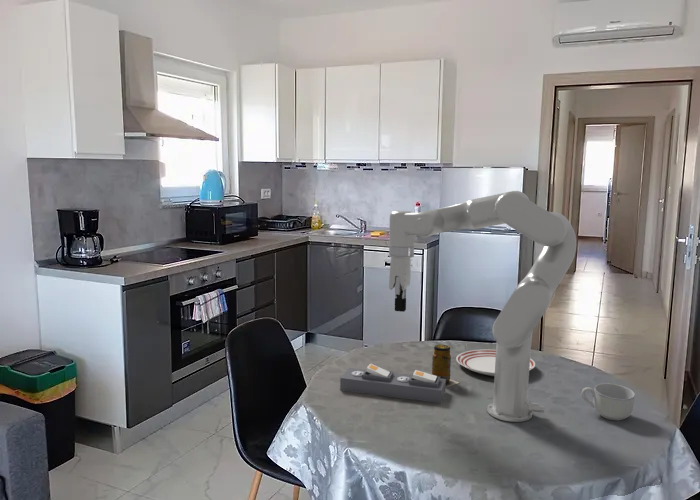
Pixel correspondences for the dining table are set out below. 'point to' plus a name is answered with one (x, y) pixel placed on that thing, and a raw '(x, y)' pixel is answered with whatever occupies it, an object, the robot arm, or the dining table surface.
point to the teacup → (611, 400)
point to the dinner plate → (481, 361)
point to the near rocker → (424, 376)
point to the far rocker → (377, 371)
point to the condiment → (442, 363)
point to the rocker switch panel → (393, 385)
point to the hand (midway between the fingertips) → (400, 310)
